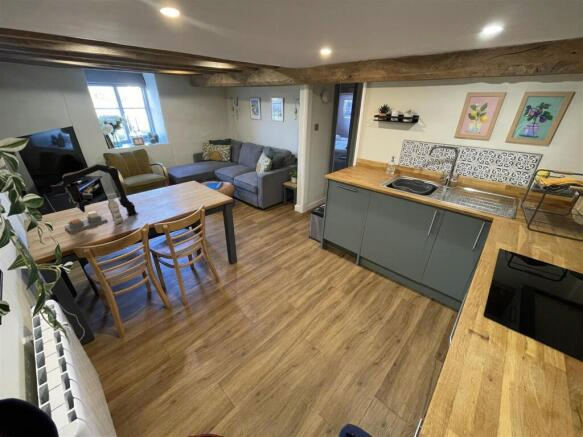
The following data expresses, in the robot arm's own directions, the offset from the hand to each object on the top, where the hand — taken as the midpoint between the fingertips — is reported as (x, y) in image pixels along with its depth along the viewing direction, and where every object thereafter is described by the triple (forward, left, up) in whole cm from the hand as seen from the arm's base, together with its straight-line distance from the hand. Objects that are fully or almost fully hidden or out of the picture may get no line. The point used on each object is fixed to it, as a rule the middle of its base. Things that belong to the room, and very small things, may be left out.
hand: (84, 212), depth 170 cm
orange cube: (0, +7, -7) cm, 10 cm away
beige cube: (0, -4, -6) cm, 7 cm away
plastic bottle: (-15, -14, -11) cm, 23 cm away
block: (0, +1, -10) cm, 10 cm away
